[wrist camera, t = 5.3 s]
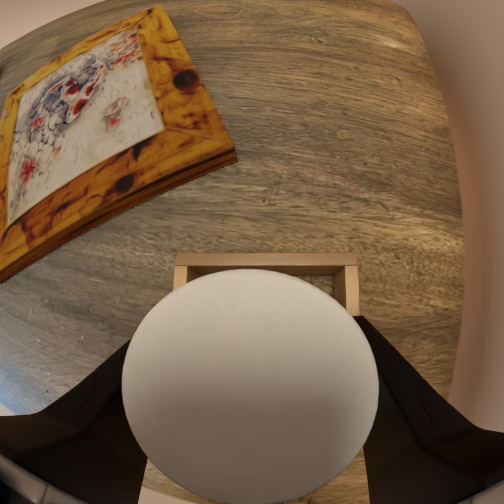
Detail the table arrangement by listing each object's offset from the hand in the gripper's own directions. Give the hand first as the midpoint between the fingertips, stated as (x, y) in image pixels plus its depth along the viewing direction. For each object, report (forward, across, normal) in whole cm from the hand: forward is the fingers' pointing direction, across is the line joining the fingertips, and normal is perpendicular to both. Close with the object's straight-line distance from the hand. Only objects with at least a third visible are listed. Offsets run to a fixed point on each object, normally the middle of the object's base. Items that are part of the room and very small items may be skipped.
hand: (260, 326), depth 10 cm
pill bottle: (+4, 0, +6) cm, 7 cm away
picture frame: (+21, +21, -8) cm, 31 cm away
